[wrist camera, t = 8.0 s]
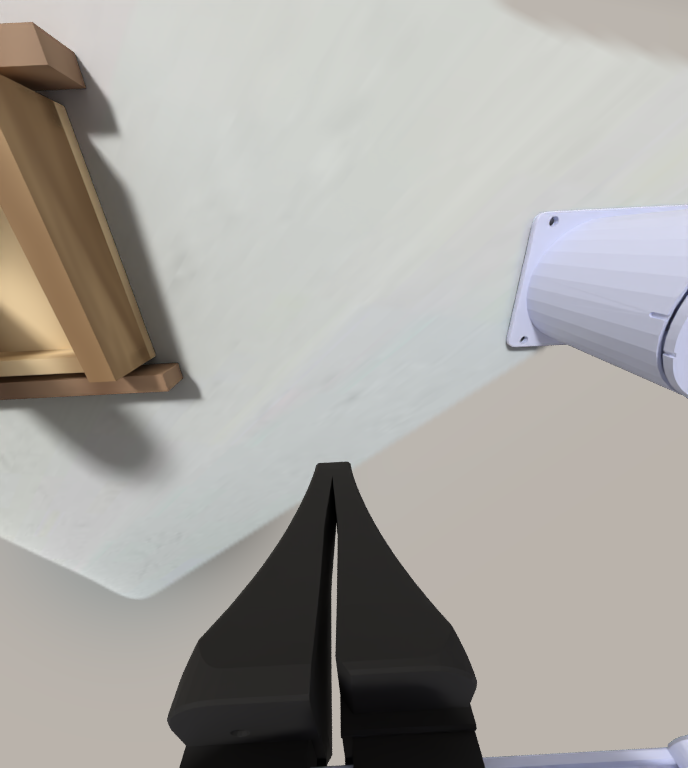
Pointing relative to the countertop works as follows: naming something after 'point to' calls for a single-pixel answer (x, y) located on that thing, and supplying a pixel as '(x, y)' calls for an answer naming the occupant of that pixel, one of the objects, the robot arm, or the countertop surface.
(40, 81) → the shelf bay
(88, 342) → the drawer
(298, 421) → the countertop surface
